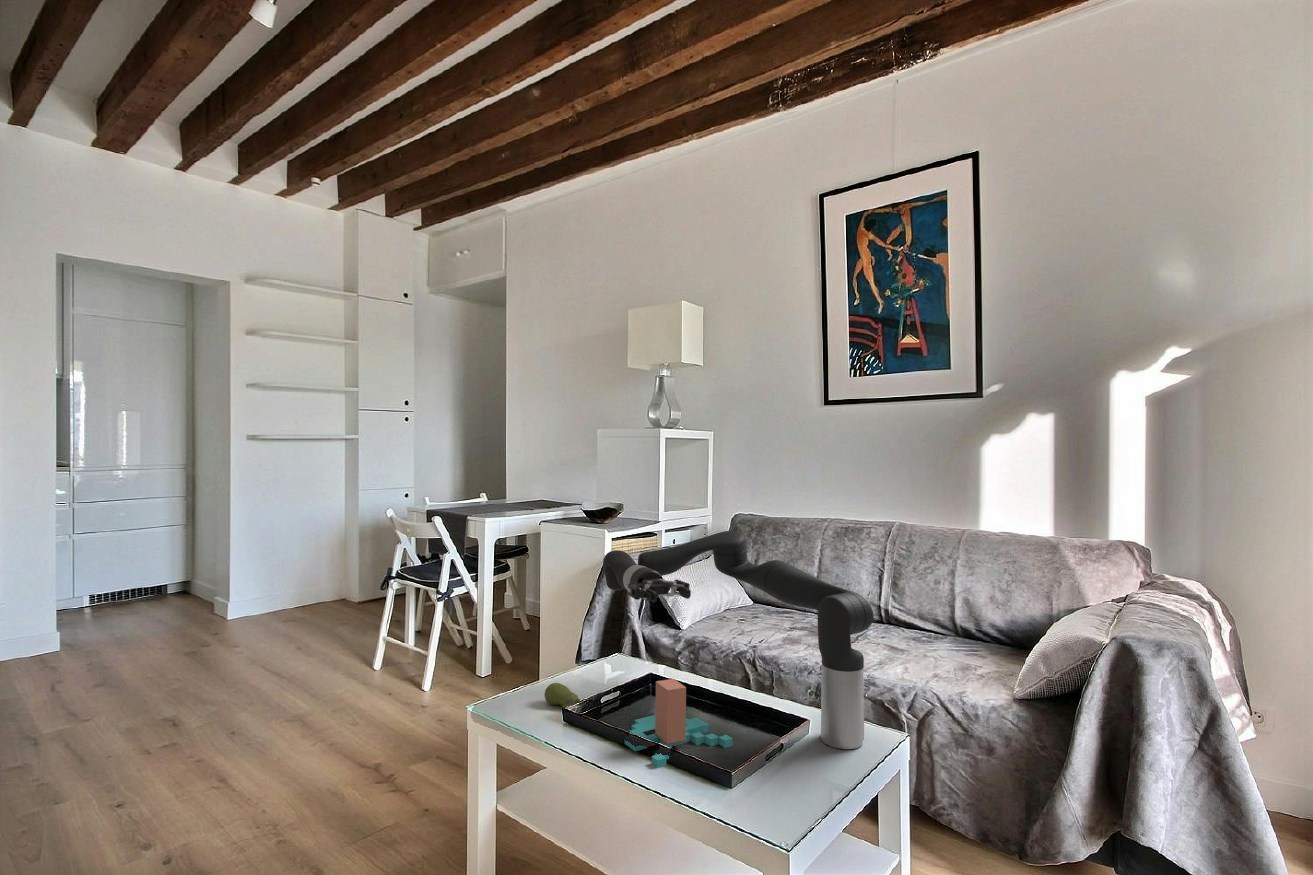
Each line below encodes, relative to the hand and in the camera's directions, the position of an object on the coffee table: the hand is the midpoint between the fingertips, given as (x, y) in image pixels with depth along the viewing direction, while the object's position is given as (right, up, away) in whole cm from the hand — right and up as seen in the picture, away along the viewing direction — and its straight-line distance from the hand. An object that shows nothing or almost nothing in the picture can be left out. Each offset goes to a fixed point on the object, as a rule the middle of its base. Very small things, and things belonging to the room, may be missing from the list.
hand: (672, 595), depth 160 cm
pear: (-27, -32, +17) cm, 45 cm away
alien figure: (-1, -33, -2) cm, 33 cm away
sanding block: (-1, -30, -5) cm, 31 cm away
